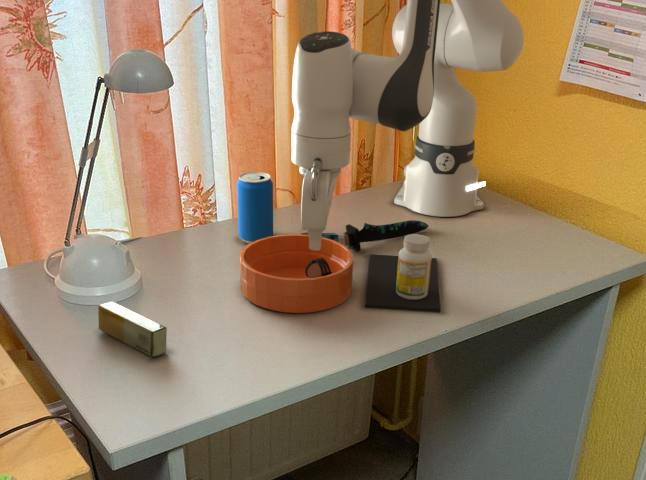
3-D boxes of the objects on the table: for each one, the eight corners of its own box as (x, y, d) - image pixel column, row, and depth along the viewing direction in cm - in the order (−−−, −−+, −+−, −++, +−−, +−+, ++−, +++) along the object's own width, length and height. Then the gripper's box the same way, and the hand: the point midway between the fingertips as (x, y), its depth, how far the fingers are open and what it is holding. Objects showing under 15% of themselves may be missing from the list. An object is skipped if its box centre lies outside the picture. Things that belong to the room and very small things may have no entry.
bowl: (251, 263, 139) (250, 231, 136) (354, 269, 139) (356, 237, 135) (231, 311, 124) (230, 276, 120) (348, 318, 123) (350, 283, 120)
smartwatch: (328, 281, 133) (329, 253, 131) (332, 295, 129) (332, 266, 126) (304, 281, 133) (304, 254, 130) (306, 295, 128) (307, 267, 126)
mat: (369, 257, 143) (369, 254, 143) (436, 261, 143) (436, 258, 143) (364, 307, 126) (365, 304, 126) (440, 312, 126) (440, 309, 126)
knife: (300, 258, 138) (303, 234, 136) (292, 252, 140) (294, 228, 138) (434, 243, 155) (438, 222, 153) (424, 238, 157) (429, 216, 155)
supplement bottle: (415, 303, 127) (421, 248, 122) (388, 293, 130) (392, 238, 125) (434, 293, 131) (440, 238, 126) (407, 283, 133) (412, 229, 128)
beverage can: (279, 241, 148) (279, 179, 142) (248, 248, 145) (247, 184, 138) (262, 230, 152) (261, 168, 146) (232, 236, 149) (230, 174, 143)
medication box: (168, 352, 112) (168, 327, 110) (153, 358, 110) (153, 332, 108) (112, 324, 118) (111, 299, 116) (97, 329, 116) (96, 304, 114)
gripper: (336, 172, 110) (332, 264, 117) (346, 134, 127) (342, 216, 134) (291, 169, 110) (290, 261, 117) (306, 131, 127) (305, 214, 134)
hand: (318, 237), depth 126 cm, fingers open, 8 cm apart
